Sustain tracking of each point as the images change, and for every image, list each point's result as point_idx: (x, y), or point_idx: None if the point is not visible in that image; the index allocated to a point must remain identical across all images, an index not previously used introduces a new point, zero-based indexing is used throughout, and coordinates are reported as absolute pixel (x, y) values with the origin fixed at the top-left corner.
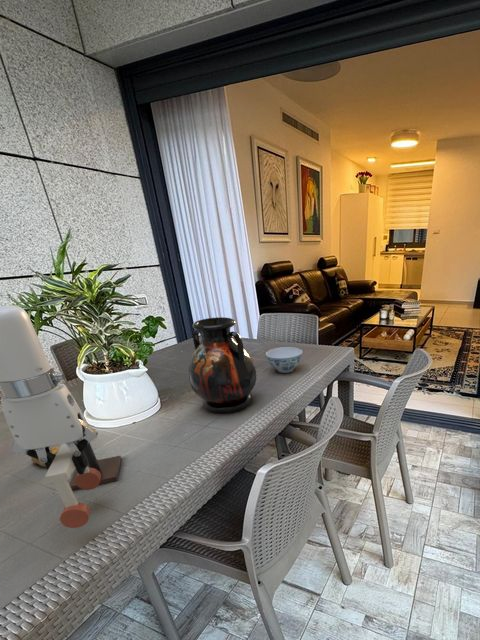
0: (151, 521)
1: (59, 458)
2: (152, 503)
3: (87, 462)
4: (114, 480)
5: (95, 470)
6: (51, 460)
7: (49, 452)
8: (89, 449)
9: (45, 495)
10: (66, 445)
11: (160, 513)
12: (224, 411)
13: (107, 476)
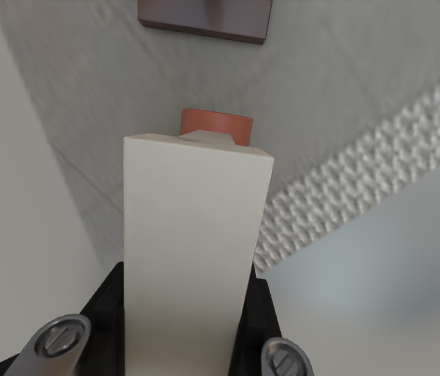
0: (306, 244)
1: (156, 360)
2: (321, 194)
3: (265, 280)
4: (257, 43)
5: (245, 127)
6: (115, 369)
7: (79, 373)
8: None
9: (80, 9)
10: (168, 207)
11: (326, 232)
12: None
13: (244, 22)
